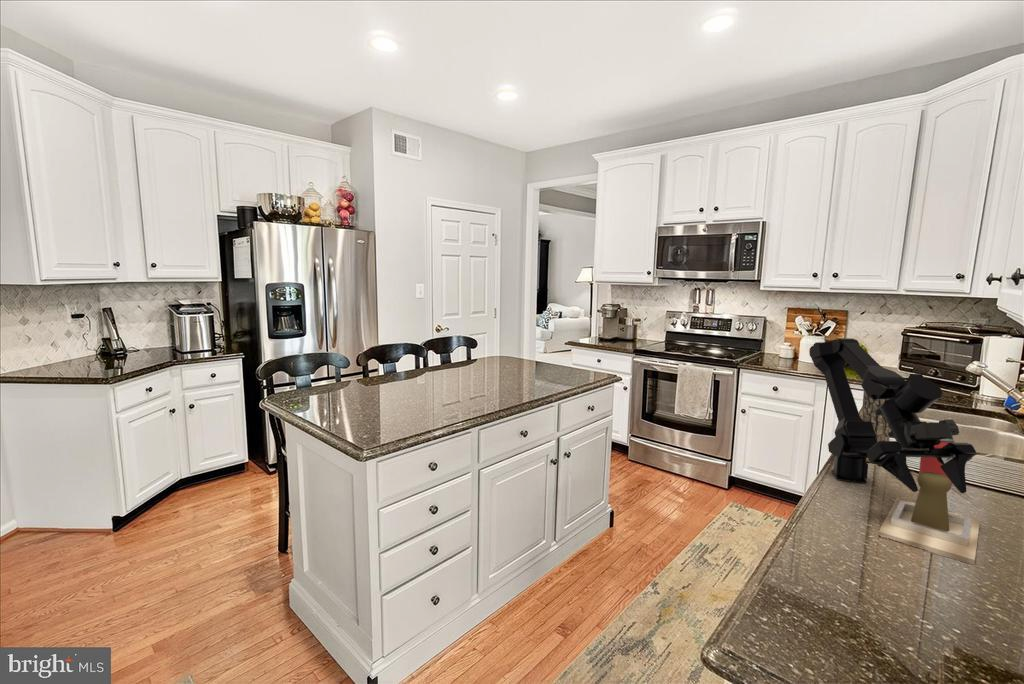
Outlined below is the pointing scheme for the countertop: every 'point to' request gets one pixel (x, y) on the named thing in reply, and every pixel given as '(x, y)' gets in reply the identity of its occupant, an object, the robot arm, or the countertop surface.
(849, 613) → the countertop surface
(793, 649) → the countertop surface
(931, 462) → the beer can
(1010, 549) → the countertop surface
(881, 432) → the brown tall cylinder
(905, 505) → the clear rectangular frame
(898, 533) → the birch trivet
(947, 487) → the cork
